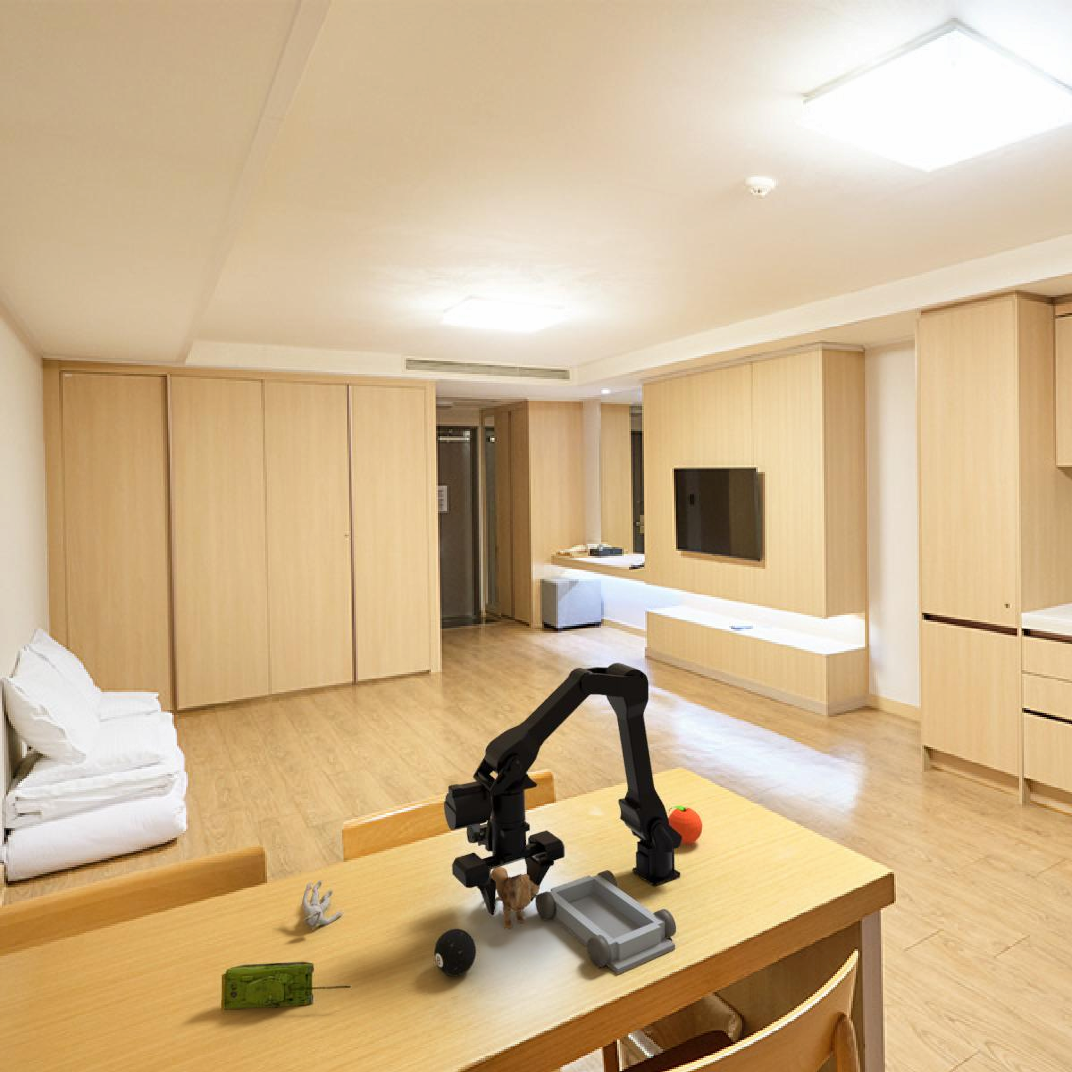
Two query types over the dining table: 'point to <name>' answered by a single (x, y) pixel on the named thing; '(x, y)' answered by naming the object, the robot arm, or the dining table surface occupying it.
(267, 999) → the toy tank
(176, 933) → the dining table surface
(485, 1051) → the dining table surface
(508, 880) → the lion figurine
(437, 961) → the billiard ball
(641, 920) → the chassis
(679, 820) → the clementine
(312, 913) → the grey irregular piece
